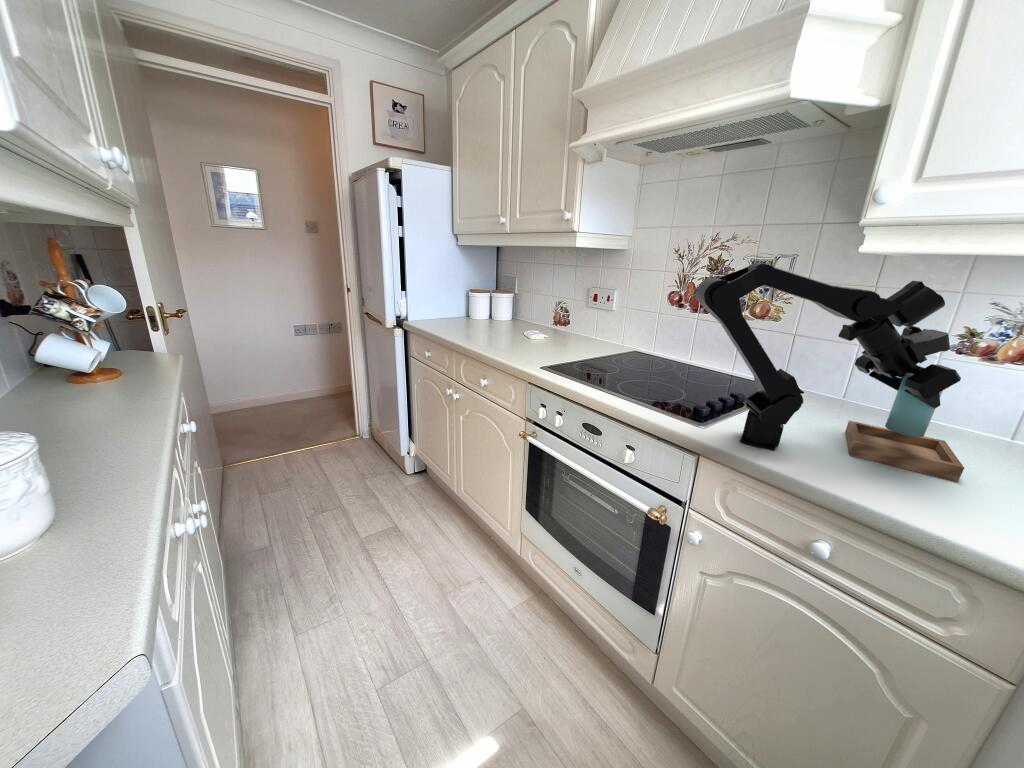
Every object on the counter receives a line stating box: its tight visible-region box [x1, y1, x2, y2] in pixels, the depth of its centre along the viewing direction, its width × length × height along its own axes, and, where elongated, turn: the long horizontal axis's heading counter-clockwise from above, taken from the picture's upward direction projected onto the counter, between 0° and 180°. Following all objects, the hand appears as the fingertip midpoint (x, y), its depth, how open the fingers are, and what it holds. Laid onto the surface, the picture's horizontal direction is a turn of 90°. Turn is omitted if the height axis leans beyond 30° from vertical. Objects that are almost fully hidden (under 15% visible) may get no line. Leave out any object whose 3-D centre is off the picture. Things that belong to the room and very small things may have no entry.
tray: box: [844, 420, 965, 483], centre depth 85 cm, size 16×14×3 cm
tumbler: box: [884, 376, 944, 437], centre depth 81 cm, size 6×6×12 cm
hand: (923, 400), depth 81 cm, fingers closed on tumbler, 6 cm apart
